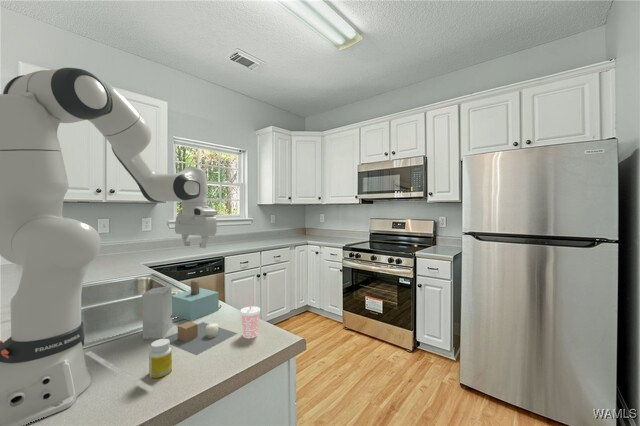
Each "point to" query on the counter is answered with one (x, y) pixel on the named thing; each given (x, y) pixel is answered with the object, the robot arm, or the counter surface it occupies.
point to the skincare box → (157, 312)
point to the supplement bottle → (160, 359)
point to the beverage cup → (250, 321)
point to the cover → (194, 302)
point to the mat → (199, 336)
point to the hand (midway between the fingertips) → (194, 246)
